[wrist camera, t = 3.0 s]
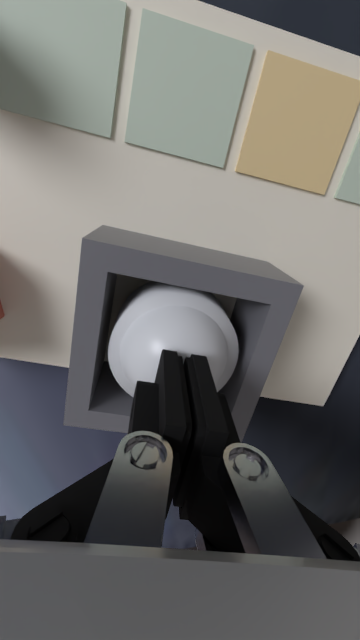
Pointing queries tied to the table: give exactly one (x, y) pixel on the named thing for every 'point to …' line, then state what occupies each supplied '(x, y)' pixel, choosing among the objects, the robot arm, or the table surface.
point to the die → (1, 311)
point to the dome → (170, 333)
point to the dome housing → (181, 270)
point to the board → (177, 165)
